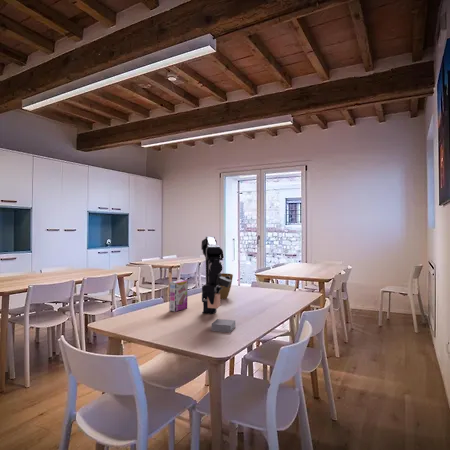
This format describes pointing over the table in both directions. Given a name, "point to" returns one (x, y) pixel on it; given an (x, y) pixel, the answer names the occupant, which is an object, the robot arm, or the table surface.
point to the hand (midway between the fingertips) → (213, 303)
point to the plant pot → (225, 290)
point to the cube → (216, 301)
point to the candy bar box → (178, 295)
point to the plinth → (223, 325)
